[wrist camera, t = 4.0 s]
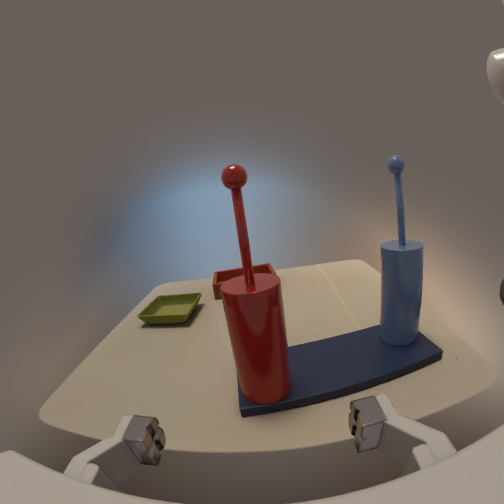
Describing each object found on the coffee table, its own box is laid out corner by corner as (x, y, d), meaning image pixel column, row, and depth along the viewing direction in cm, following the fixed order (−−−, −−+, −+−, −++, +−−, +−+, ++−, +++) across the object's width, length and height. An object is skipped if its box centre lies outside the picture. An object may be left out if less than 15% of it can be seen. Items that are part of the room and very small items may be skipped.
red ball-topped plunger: (286, 369, 25) (260, 163, 21) (296, 398, 20) (268, 156, 17) (240, 377, 25) (203, 171, 21) (243, 408, 20) (197, 166, 16)
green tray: (190, 326, 39) (186, 314, 38) (139, 328, 40) (135, 316, 40) (204, 303, 47) (202, 292, 47) (160, 306, 48) (157, 295, 48)
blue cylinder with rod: (404, 321, 28) (399, 157, 25) (424, 338, 24) (425, 153, 20) (372, 331, 28) (364, 158, 24) (391, 350, 24) (388, 153, 20)
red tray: (271, 276, 57) (269, 263, 57) (278, 289, 49) (276, 274, 49) (216, 284, 57) (214, 271, 56) (215, 299, 49) (212, 284, 48)
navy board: (400, 324, 30) (401, 317, 30) (441, 358, 21) (443, 350, 21) (237, 362, 29) (235, 355, 28) (241, 417, 20) (239, 409, 20)
